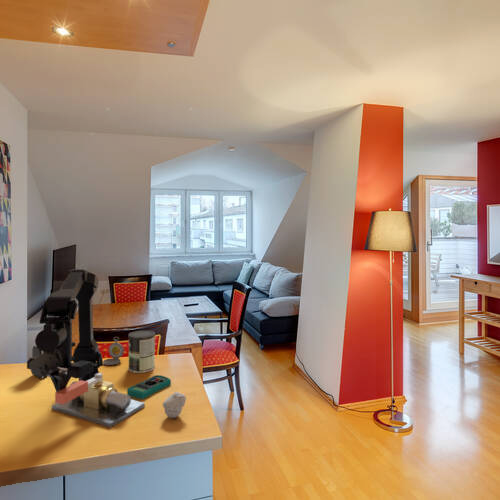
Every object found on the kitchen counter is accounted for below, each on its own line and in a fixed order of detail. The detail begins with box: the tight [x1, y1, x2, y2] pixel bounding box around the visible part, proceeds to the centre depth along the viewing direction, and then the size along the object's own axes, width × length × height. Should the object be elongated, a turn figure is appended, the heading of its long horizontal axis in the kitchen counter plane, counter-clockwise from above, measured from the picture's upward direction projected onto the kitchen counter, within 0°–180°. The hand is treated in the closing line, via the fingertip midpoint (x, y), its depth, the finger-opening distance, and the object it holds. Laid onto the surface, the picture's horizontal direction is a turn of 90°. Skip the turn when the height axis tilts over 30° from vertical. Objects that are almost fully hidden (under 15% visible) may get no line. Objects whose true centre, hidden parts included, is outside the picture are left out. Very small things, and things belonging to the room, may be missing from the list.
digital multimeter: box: [126, 374, 172, 400], centre depth 129 cm, size 7×15×3 cm, turn 152°
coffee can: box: [128, 329, 156, 374], centre depth 149 cm, size 10×10×14 cm
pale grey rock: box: [162, 391, 187, 419], centre depth 110 cm, size 6×7×7 cm
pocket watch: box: [103, 336, 125, 366], centre depth 155 cm, size 8×8×10 cm
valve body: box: [51, 380, 146, 428], centre depth 115 cm, size 24×14×8 cm, turn 65°
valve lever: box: [54, 372, 104, 404], centre depth 108 cm, size 16×3×3 cm, turn 161°
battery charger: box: [31, 345, 48, 379], centre depth 140 cm, size 7×4×11 cm, turn 52°
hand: (60, 395), depth 104 cm, fingers closed
